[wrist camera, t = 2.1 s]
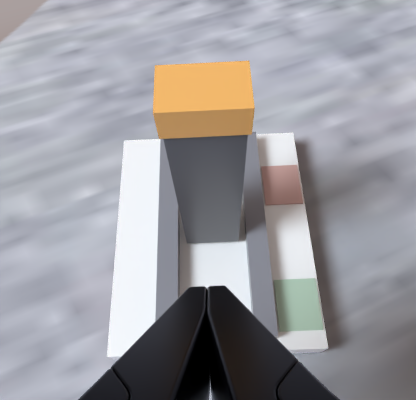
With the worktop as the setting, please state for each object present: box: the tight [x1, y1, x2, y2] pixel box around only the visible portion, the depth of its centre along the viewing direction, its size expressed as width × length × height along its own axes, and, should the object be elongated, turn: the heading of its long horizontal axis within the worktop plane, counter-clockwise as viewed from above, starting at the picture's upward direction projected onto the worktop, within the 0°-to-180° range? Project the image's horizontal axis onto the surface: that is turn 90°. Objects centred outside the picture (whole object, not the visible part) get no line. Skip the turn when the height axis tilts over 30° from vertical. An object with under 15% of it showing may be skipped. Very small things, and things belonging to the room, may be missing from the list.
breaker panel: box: [107, 132, 328, 360], centre depth 21 cm, size 12×10×2 cm
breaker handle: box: [153, 61, 254, 244], centre depth 16 cm, size 2×3×10 cm, turn 92°
